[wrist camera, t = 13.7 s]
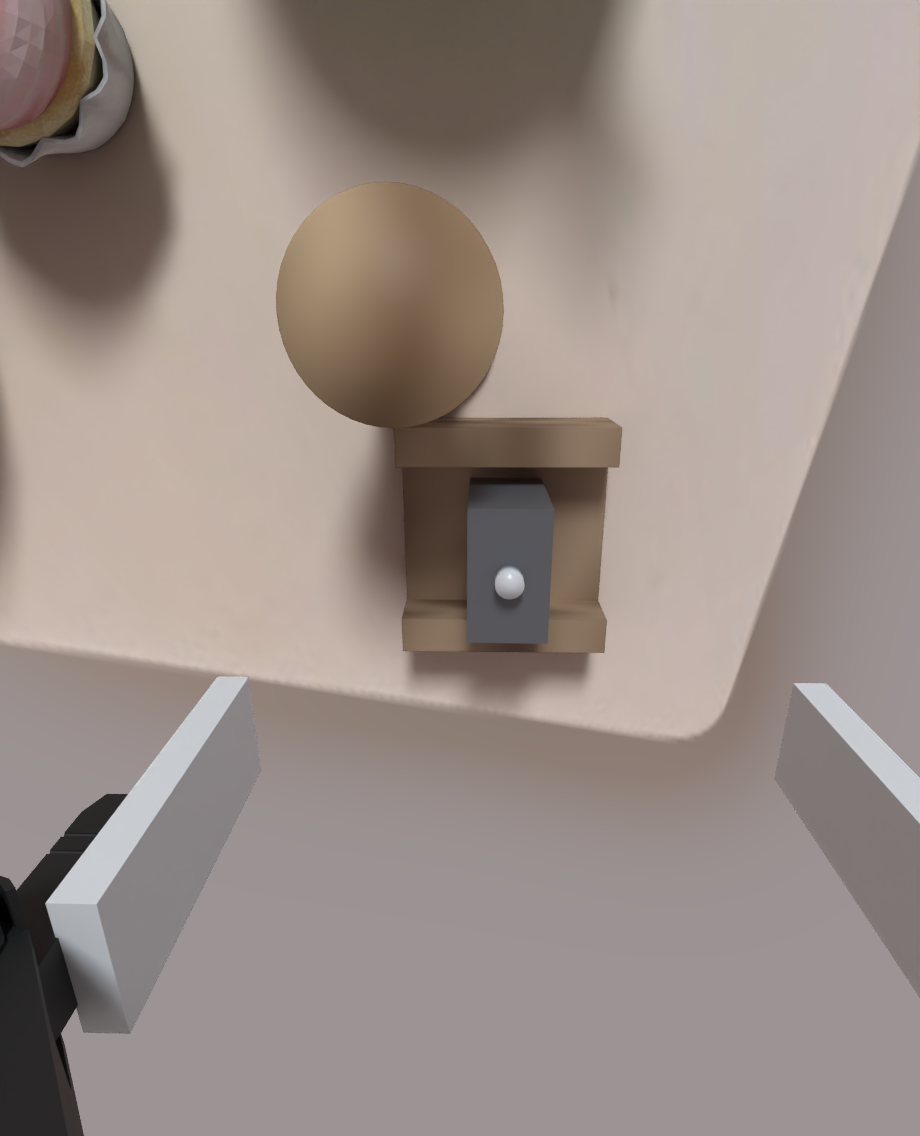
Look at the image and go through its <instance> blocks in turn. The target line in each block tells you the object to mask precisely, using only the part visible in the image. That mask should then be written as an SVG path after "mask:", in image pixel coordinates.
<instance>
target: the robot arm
mask: <svg viewBox="0 0 920 1136" xmlns="http://www.w3.org/2000/svg"><path fill="white" fill-rule="evenodd" d="M260 772H261V766H260V759H259V751H258V743H257V736H256V729H255V721H254V713H253V706H252V698H251V690H250V683H249V677H217V678H216V680H215V681H214V682H213V683H212V685H211V686H210V688H209V689H208V690H207V691H206V693H205V694H204V695H203V697H202V698H201V699H200V701H199V702H198V703H197V705H196V706H195V707H194V708H193V710H192V711H191V712H190V714H189V715H188V716H187V718H186V719H185V720H184V722H183V723H182V724H181V726H180V727H179V728H178V729H177V731H176V732H175V733H174V735H173V736H172V738H171V739H170V740H169V741H168V743H167V744H166V745H165V747H164V748H163V749H162V750H161V752H160V753H159V754H158V756H157V757H156V759H155V760H154V761H153V762H152V764H151V765H150V766H149V768H148V769H147V770H146V772H145V773H144V774H143V776H142V777H141V778H140V779H139V781H138V782H137V783H136V785H135V786H134V787H133V789H132V790H131V791H130V793H129V794H106V795H105V796H103V797H102V798H101V799H99V800H98V801H96V802H95V803H93V804H92V805H91V806H89V807H88V808H87V809H85V810H84V811H82V812H81V813H80V815H79V816H78V817H77V818H76V819H75V821H74V822H73V823H72V824H71V825H70V827H69V828H68V829H67V830H66V832H65V834H64V837H61V838H60V839H59V840H58V841H57V842H56V844H55V845H54V846H53V847H52V849H51V850H50V854H46V856H45V857H44V858H43V859H42V860H41V862H40V863H39V864H38V865H37V867H36V868H35V869H34V870H33V871H32V873H31V874H30V875H29V876H28V877H27V879H26V880H25V881H24V882H23V883H22V885H21V886H20V887H19V888H18V889H17V891H16V889H15V887H14V885H13V884H12V882H11V881H10V879H8V878H5V877H2V876H0V1136H84V1135H83V1129H82V1125H81V1120H80V1115H79V1111H78V1106H77V1101H76V1097H75V1092H74V1087H73V1083H72V1078H71V1073H70V1069H69V1064H68V1059H67V1054H66V1049H65V1045H64V1041H63V1038H62V1035H61V1032H62V1030H63V1029H64V1027H65V1025H66V1024H67V1022H68V1020H69V1019H70V1017H71V1015H72V1014H73V1012H74V1010H75V1009H76V1008H77V1011H78V1015H79V1019H80V1022H81V1025H82V1029H83V1032H88V1033H90V1032H91V1033H127V1034H130V1033H131V1031H132V1029H133V1027H134V1025H135V1023H136V1021H137V1019H138V1017H139V1015H140V1013H141V1011H142V1009H143V1007H144V1005H145V1003H146V1001H147V999H148V997H149V995H150V993H151V991H152V989H153V987H154V985H155V983H156V981H157V979H158V977H159V975H160V973H161V971H162V969H163V967H164V965H165V963H166V961H167V958H168V957H169V955H170V953H171V951H172V949H173V947H174V944H175V943H176V941H177V938H178V937H179V934H180V933H181V930H182V929H183V927H184V924H185V923H186V920H187V919H188V916H189V914H190V912H191V910H192V908H193V906H194V904H195V902H196V900H197V898H198V896H199V894H200V892H201V890H202V888H203V886H204V884H205V882H206V880H207V878H208V876H209V874H210V872H211V870H212V868H213V866H214V864H215V862H216V860H217V858H218V856H219V854H220V852H221V850H222V848H223V846H224V844H225V842H226V840H227V838H228V836H229V834H230V832H231V830H232V828H233V826H234V824H235V822H236V820H237V818H238V816H239V814H240V812H241V810H242V808H243V806H244V804H245V802H246V800H247V798H248V796H249V794H250V792H251V790H252V788H253V786H254V784H255V782H256V780H257V778H258V776H259V774H260ZM775 780H776V782H777V783H778V785H779V786H780V788H781V789H782V791H783V792H784V794H785V795H786V797H787V798H788V800H789V801H790V803H791V804H792V806H793V807H794V809H795V810H796V812H797V813H798V815H799V816H800V818H801V820H802V821H803V823H804V824H805V826H806V827H807V829H808V830H809V831H810V833H811V834H812V836H813V838H814V839H815V841H816V842H817V844H818V845H819V846H820V848H821V850H822V851H823V853H824V854H825V856H826V857H827V859H828V860H829V862H830V863H831V865H832V866H833V868H834V869H835V871H836V872H837V874H838V875H839V877H840V878H841V879H842V881H843V883H844V884H845V886H846V887H847V889H848V890H849V892H850V893H851V895H852V896H853V898H854V899H855V901H856V902H857V904H858V905H859V907H860V908H861V910H862V911H863V913H864V914H865V916H866V917H867V919H868V920H869V922H870V923H871V925H872V926H873V928H874V929H875V931H876V933H877V934H878V936H879V937H880V939H881V940H882V942H883V943H884V945H885V946H886V948H887V949H888V950H889V952H890V954H891V955H892V957H893V958H894V960H895V961H896V963H897V964H898V966H899V967H900V969H901V970H902V971H903V973H904V975H905V976H906V978H907V979H908V980H909V982H910V984H911V985H912V987H913V988H914V990H915V991H916V993H917V994H918V996H919V997H920V778H919V777H918V776H917V775H916V774H915V773H914V772H913V771H912V770H911V769H910V768H909V767H908V766H907V765H906V764H905V763H904V762H903V761H902V760H901V759H900V758H899V757H898V756H897V755H896V754H895V753H894V752H893V751H892V750H891V749H890V748H889V747H888V746H887V745H886V744H885V743H884V742H883V741H882V739H881V738H879V737H878V735H877V734H876V733H875V732H874V731H873V730H872V729H871V728H870V727H869V726H868V725H867V724H866V723H865V722H864V721H863V720H862V719H861V718H860V717H859V716H858V715H857V714H856V713H855V712H854V711H853V710H852V709H851V708H850V707H849V706H848V705H846V703H845V702H844V701H843V700H842V699H841V698H840V697H839V696H838V695H837V694H836V693H835V692H834V691H833V690H832V689H831V688H830V687H829V686H828V685H827V684H819V683H818V684H817V683H816V684H815V683H794V684H793V688H792V693H791V698H790V704H789V708H788V713H787V718H786V723H785V728H784V733H783V738H782V743H781V748H780V753H779V758H778V763H777V768H776V773H775Z"/></svg>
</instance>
